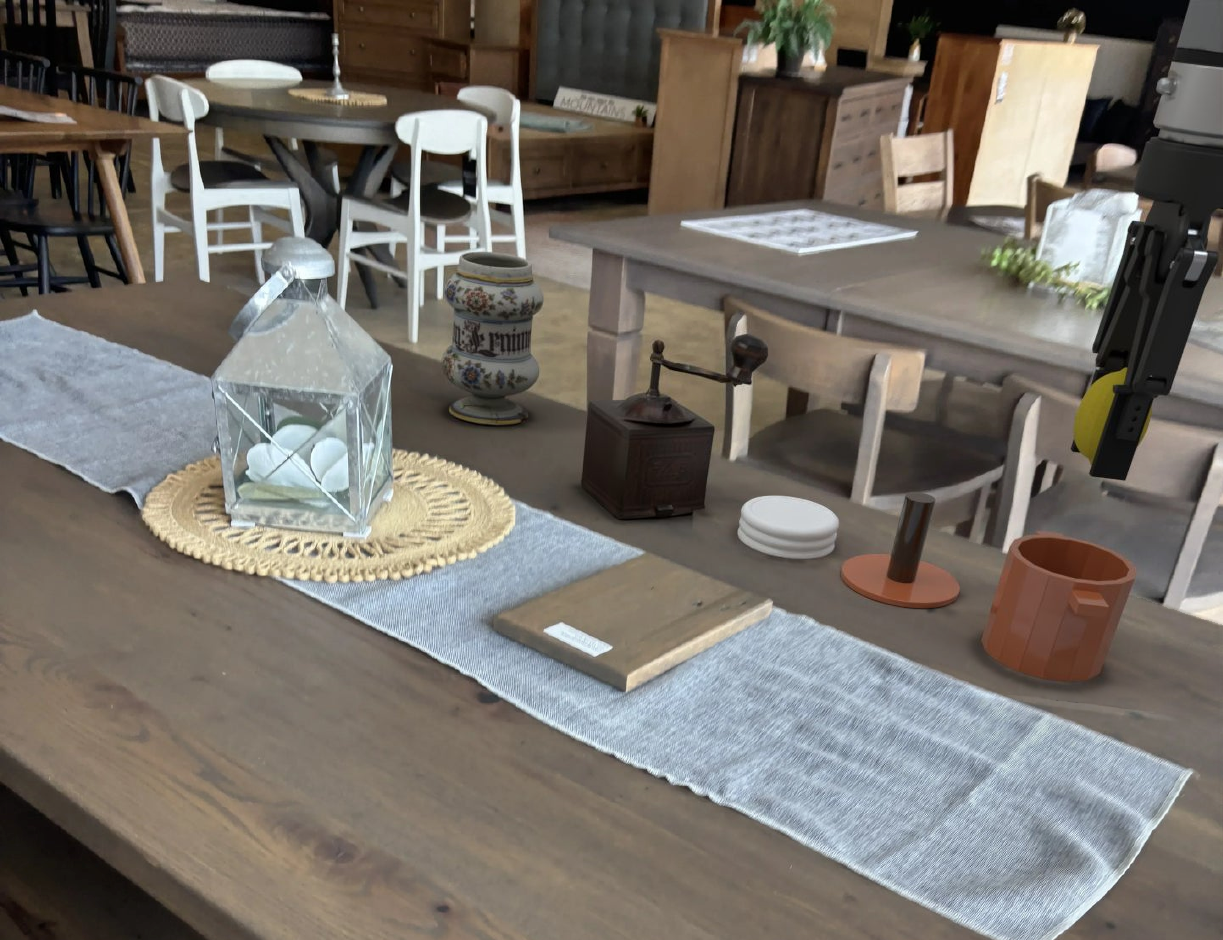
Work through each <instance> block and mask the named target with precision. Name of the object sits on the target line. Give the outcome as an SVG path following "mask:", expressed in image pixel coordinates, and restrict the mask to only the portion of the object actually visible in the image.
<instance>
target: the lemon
mask: <svg viewBox="0 0 1223 940" xmlns="http://www.w3.org/2000/svg"><path fill="white" fill-rule="evenodd" d="M1126 372H1127V368H1124V369H1122V370H1121V371H1118V372H1113V373H1110V374H1107V375H1105V376H1103V377H1101V378H1100V379H1098V380H1097V381H1096V382H1095V383H1094V384H1092V386H1091V385H1090V386H1091V387H1089V388H1088V389H1087V391H1086V393H1085V394H1084V396H1083V398H1082V400H1081V401H1080V403H1079V405H1078V409H1077V411H1076V413H1075V417H1074V421H1073V430H1072V431H1073V432H1072V433H1073V440H1075V443H1076V446H1077V448H1078V449H1079V451H1080V452H1081V453H1080V454H1081V455H1082V456H1084V457H1085V458H1086V459H1087V460H1088V461H1089V464H1090V467H1091V466H1092V463H1093V459H1094V456H1095V453H1096V450H1097V447H1098V444H1099V441H1100V438H1101V435H1102V432H1103V429H1104V426H1105V423H1106V420H1107V417H1108V414H1109V411H1110V408H1111V405H1112V402H1113V399H1114V396H1115V393H1113V385H1118V384H1119V385H1123V384H1124V380H1125V376H1126ZM1152 412H1153V404H1152V405H1151V408H1150V411H1149V414H1148V417H1147V420H1146V423H1145V426H1144V428H1143V431H1142V434H1141V437H1140V440H1139V443H1138V446H1137V448H1138V447H1139V445H1140V444H1141V442H1143V439H1144V437H1145V436H1146V434H1147V432H1148V429H1149V427H1150V422H1151V418H1152Z"/></svg>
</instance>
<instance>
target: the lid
mask: <svg viewBox="0 0 1223 940" xmlns="http://www.w3.org/2000/svg"><path fill="white" fill-rule="evenodd" d="M936 501H937V500H936V497H934V496H933V495H931V494H928V493H925V492H919V491H909V492H907V493H906V494H905V495H904V500H903V504H902V509H901V512H900V516H899V521H898V524H897V527H896V532H895V537H894V541H893V545H892V549H891V554H889V553H888V554H887V553H868V554H860V555H857V556H854V557H850V558H849V559H847V560H845V562H843V564H842V566H841V570H840V576H841V579H842V581H843V582H844V584H846V586H847V587H849V588H850V589H851V590H852V591H855V592H856V593H858V594H860V595H862V596H864V597H866V598H869V599H871V600H874V601H876V602H880V603H882V604H886V605H892V606H896V607H903V608H909V609H935V608H942V607H945V606H948V605H950V604H952V603H954V602H955V601H956V600H957V599H958V597H959V594H960V590H961V587H960V583H959V582H958V580H957V579H956V578H955V577H954V576H953V575H952V574H951V573H950V572H948V571H946V570H944V569H943V568H940V567H939V566H936V565H934V564H932V563H929V562H926V561H924V560H922V555H923V552H924V548H925V544H926V539H927V536H928V531H929V528H930V524H931V520H932V517H933V513H934V509H935V505H936Z"/></svg>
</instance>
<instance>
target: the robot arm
mask: <svg viewBox="0 0 1223 940" xmlns="http://www.w3.org/2000/svg"><path fill="white" fill-rule="evenodd" d="M1172 57H1173V58H1172V60H1173V61H1171V64H1170V66H1169V70H1168V74H1167V77H1161V78H1160V79H1159V80H1157V83H1156V84H1157V85H1156V88H1155V90H1156V92H1157V94H1160V95H1161V96H1160V99H1159V101H1158V102H1159V103H1158V105H1157V109H1156V112H1155V115H1154V119H1153V121H1152V122H1153V125H1154V127H1155V128H1157V129H1160V130H1159V133H1158V136H1152V137H1150V139H1149V140H1148V141H1146V142H1145V145H1144V148H1143V152H1142V155H1141V158H1140V162H1139V164H1138V167H1137V171H1136V174H1135V178H1134V181H1133V184H1132V189H1133V190H1132V191H1133V192H1134V193H1135V195H1137V196H1139V197H1140V198H1144V199H1147V200H1151V201H1153V202H1152V204H1151V207H1150V209H1149V211H1148V213H1147V215H1146V216H1145V220H1144V221H1140V220H1131V222H1129V223H1130V224H1129V225H1128V226H1127V233H1126V237H1125V241H1124V245H1123V250H1122V255H1121V258H1120V261H1119V264H1118V267H1117V270H1116V273H1115V276H1114V279H1113V283H1112V286H1111V289H1110V291H1109V294H1108V298H1107V300H1106V304H1105V308H1104V310H1103V313H1102V316H1101V320H1100V322H1099V326H1098V328H1097V332H1096V335H1095V338H1094V341H1093V343H1092V346H1091V351H1092V354H1096V356H1095V359H1094V360H1095V367H1096V369H1095V371H1094V374H1093V377H1092V380H1091V383H1090V387H1091V386H1092V384H1094V383H1095V382H1096V381H1097V380H1098V379H1100V378H1101V377H1103V376H1105V375H1107V374H1110V373H1113V372H1118V371H1121V370H1122V369H1124V368H1127V372H1126V376H1125V380H1124V384H1123V385H1119V384H1118V385H1113V393H1115V396H1114V399H1113V402H1112V405H1111V408H1110V411H1109V414H1108V417H1107V420H1106V423H1105V426H1104V429H1103V432H1102V435H1101V438H1100V441H1099V444H1098V447H1097V450H1096V453H1095V456H1094V459H1093V463H1092V466H1091V465H1090V469H1089V472H1088V474H1089V476H1090V477H1093V478H1100V479H1109V480H1116V481H1122V482H1123V481H1124V482H1125V481H1126V480H1127V477H1128V475H1129V472H1130V468H1131V466H1132V462H1133V459H1134V457H1135V454H1136V452H1137V449H1138V447H1139V445H1138V443H1139V440H1140V437H1141V434H1142V431H1143V428H1144V426H1145V423H1146V420H1147V417H1148V414H1149V411H1150V408H1151V405H1152V406H1153V402H1154V399H1157V398H1158V397H1159V396H1165V397H1167V396H1168V395H1169V394H1170V392H1171V390H1172V388H1173V384H1174V381H1175V378H1176V375H1177V373H1178V370H1179V367H1180V363H1181V360H1182V358H1183V355H1184V351H1185V349H1186V346H1187V343H1188V339H1189V337H1190V333H1191V332H1192V331H1191V330H1192V328H1193V325H1194V322H1195V319H1196V316H1197V313H1198V310H1199V307H1200V304H1201V301H1202V298H1203V295H1204V292H1205V289H1206V287H1207V285H1208V283H1209V282H1210V281H1209V280H1210V279H1211V276H1212V275H1213V272H1214V270H1215V268H1216V266H1217V264H1218V262H1219V257H1220V255H1219V251H1217V250H1209V249H1208V250H1207V248H1208V243H1209V230H1210V225H1211V221H1212V216H1213V214H1214V212H1215V211H1217V210H1223V0H1189V2H1188V7H1187V11H1186V13H1185V17H1184V20H1183V25H1182V27H1181V31H1180V34H1179V38H1178V41H1177V45H1176V48H1175V50H1174V54H1173V56H1172ZM1097 368H1098V369H1097ZM1090 387H1089V388H1090ZM1137 446H1138V447H1137ZM1070 450H1071V452H1072V453H1079V454H1082V453H1081V452H1080V451H1079V449H1078V448H1077V446H1076V443H1075V440H1074V439H1073V440H1072V443H1071V446H1070Z"/></svg>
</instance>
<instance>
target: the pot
mask: <svg viewBox="0 0 1223 940" xmlns="http://www.w3.org/2000/svg"><path fill="white" fill-rule="evenodd" d="M1137 574H1138V569H1137V568H1136V566H1135V565H1134V564H1133V562H1132V561H1131V560H1130V559H1128V558H1126V557H1125V556H1123V554H1120V553H1119V552H1117V551H1116V550H1113V549H1110V548H1108V547H1106V546H1103V545H1100V544H1098V543H1095V542H1092V541H1087V540H1084V539H1079V538H1075V537H1070V536H1065V535H1064V533H1061V532H1053V531H1043V530H1036V531H1035V534H1027V535H1023V536H1020V537H1017V538H1014V539H1013V541H1012V542H1011V544H1010V545H1009V547H1008V550H1007V554H1006V557H1005V561H1004V564H1003V567H1002V570H1001V574H1000V577H999V580H998V583H997V587H996V591H995V594H994V597H993V600H992V604H991V607H990V610H989V613H988V616H987V620H986V624H985V627H984V630H983V634H982V636H981V637H982V638H981V640H980V641H981V644H982V646H983V649H984V651H985V652H986V654H988V655H989V656H990V657H991V658H993V659H994V660H995V661H996V662H998V663H999V664H1001V665H1004V666H1005V667H1007V668H1010V669H1012V670H1014V671H1016V672H1019V673H1021V674H1024V675H1028V676H1031V677H1034V678H1035V677H1036V678H1038V679H1041V680H1046V681H1047V680H1049V681H1056V682H1065V683H1070V682H1071V683H1072V682H1083V681H1088V680H1091V679H1093V678H1095V677H1097V676H1099V675H1100V674H1101V672H1102V669H1103V666H1104V664H1105V660H1106V658H1107V655H1108V652H1109V650H1110V647H1111V644H1112V641H1113V640H1114V637H1115V634H1116V631H1117V628H1118V626H1119V623H1120V620H1121V618H1122V615H1123V612H1124V610H1125V607H1126V604H1127V601H1128V598H1129V596H1130V593H1131V590H1132V588H1133V586H1134V583H1135V580H1136V577H1137Z"/></svg>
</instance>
